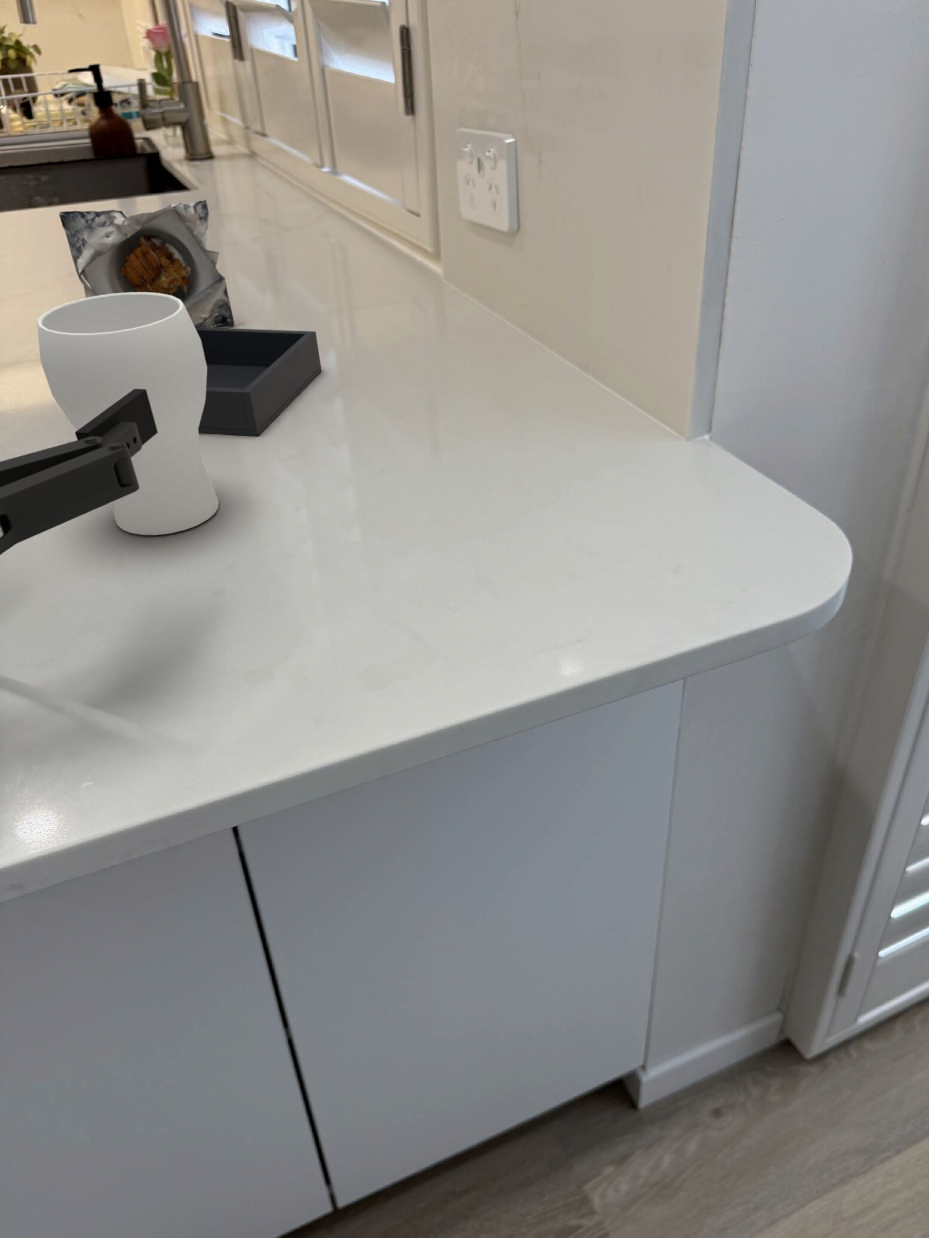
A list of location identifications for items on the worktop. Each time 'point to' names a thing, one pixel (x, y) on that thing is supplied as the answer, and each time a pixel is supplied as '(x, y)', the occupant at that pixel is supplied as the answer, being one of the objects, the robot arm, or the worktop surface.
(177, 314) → the cup
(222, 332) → the tray
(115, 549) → the worktop surface
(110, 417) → the robot arm
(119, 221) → the meal
